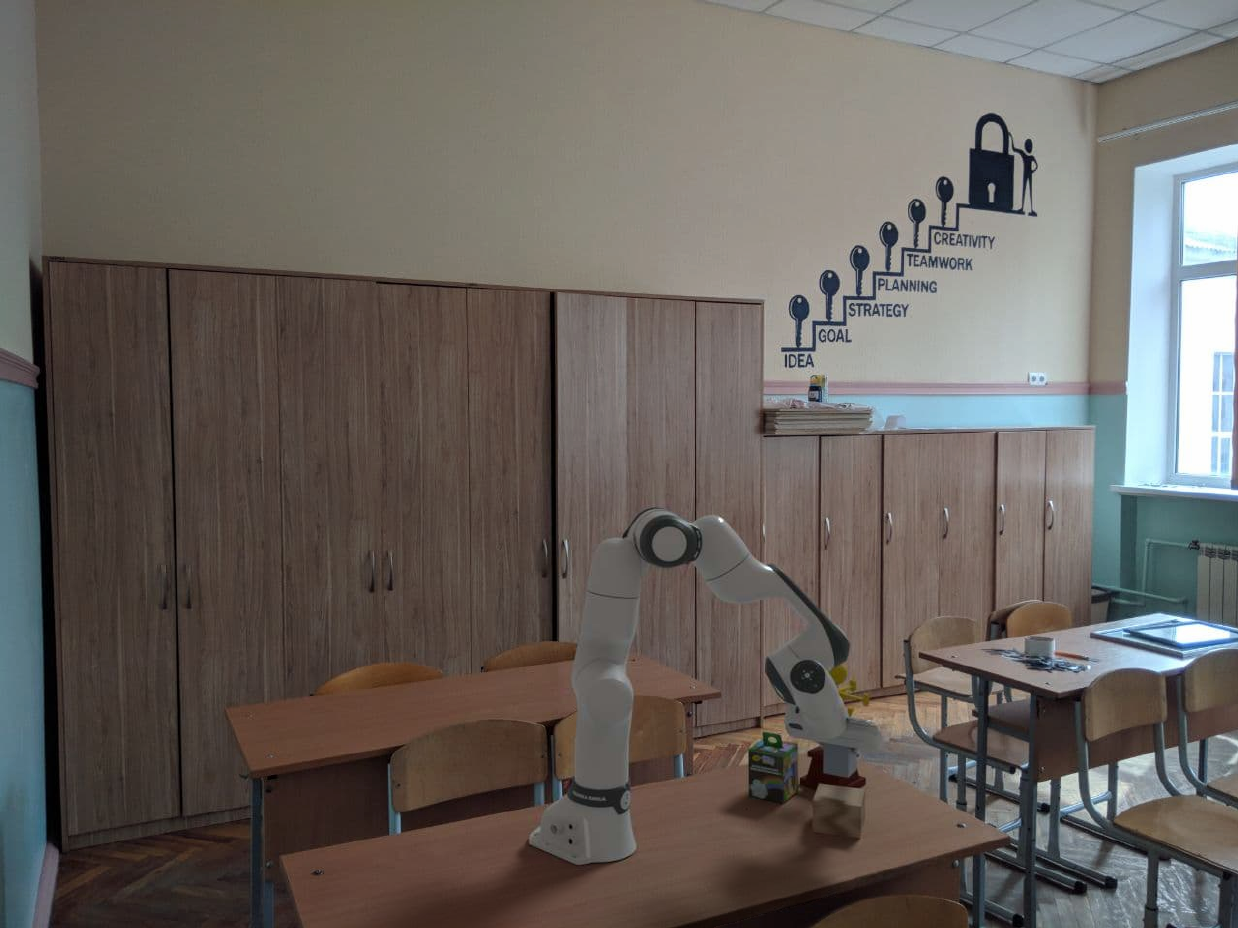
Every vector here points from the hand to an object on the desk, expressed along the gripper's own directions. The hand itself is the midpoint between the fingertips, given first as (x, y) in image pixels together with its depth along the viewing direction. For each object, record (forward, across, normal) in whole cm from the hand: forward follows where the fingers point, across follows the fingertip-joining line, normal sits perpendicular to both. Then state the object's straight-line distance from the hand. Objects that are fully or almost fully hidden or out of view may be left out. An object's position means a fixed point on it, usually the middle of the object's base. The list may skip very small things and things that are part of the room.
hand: (841, 748), depth 212 cm
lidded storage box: (+3, 0, +4) cm, 5 cm away
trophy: (+27, +9, -3) cm, 29 cm away
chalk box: (+18, +19, +6) cm, 27 cm away
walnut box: (+12, 0, +12) cm, 17 cm away
